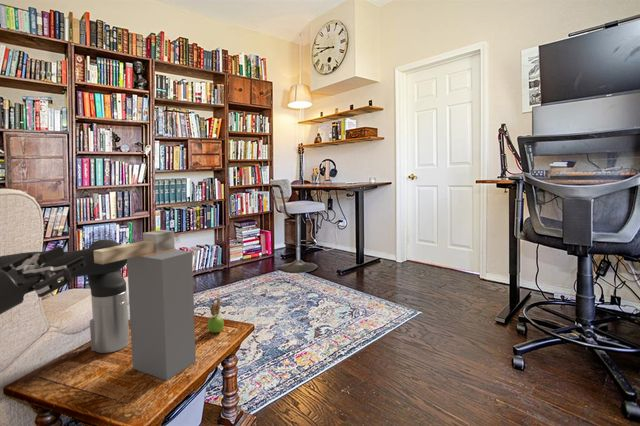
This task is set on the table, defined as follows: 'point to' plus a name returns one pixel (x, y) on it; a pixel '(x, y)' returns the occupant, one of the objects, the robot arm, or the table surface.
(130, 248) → the beam
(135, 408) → the table surface
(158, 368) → the pedestal
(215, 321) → the snail figurine
